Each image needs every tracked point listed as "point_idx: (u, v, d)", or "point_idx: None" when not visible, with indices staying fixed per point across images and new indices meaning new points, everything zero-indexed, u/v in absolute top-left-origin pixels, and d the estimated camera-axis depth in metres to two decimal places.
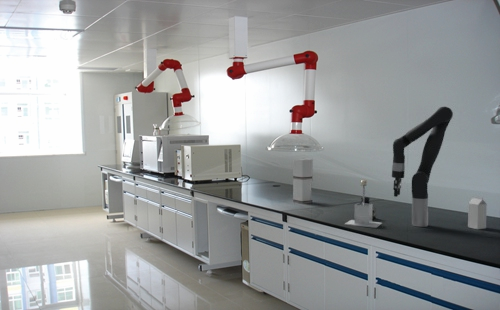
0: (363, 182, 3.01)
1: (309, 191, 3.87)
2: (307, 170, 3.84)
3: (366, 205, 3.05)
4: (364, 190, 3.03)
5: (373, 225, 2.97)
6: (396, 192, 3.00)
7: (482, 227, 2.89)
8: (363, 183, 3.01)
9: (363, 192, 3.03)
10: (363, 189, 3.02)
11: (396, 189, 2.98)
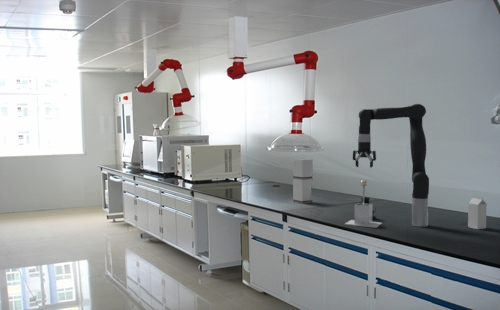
0: (363, 182, 3.01)
1: (309, 191, 3.87)
2: (307, 170, 3.84)
3: (366, 205, 3.05)
4: (364, 190, 3.03)
5: (373, 225, 2.97)
6: (372, 163, 3.00)
7: (482, 227, 2.89)
8: (363, 183, 3.01)
9: (363, 192, 3.03)
10: (363, 189, 3.02)
11: (375, 159, 2.99)
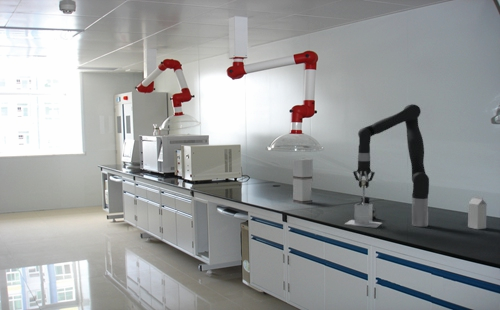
0: (363, 182, 3.01)
1: (309, 191, 3.87)
2: (307, 170, 3.84)
3: (366, 205, 3.05)
4: (364, 190, 3.03)
5: (373, 225, 2.97)
6: (368, 183, 3.02)
7: (482, 227, 2.89)
8: (363, 183, 3.01)
9: (363, 192, 3.03)
10: (363, 189, 3.02)
11: (371, 180, 3.01)
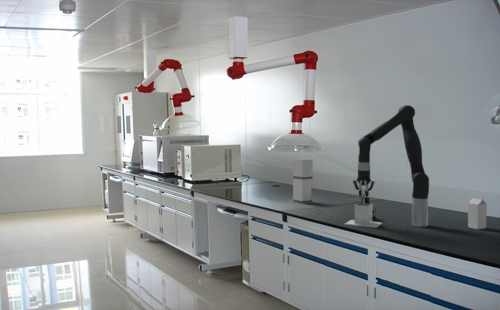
0: (363, 191, 3.02)
1: (309, 191, 3.87)
2: (307, 170, 3.84)
3: None
4: None
5: (373, 225, 2.97)
6: (368, 192, 3.02)
7: (482, 227, 2.89)
8: (363, 192, 3.02)
9: (363, 201, 3.03)
10: (363, 198, 3.03)
11: (371, 189, 3.01)
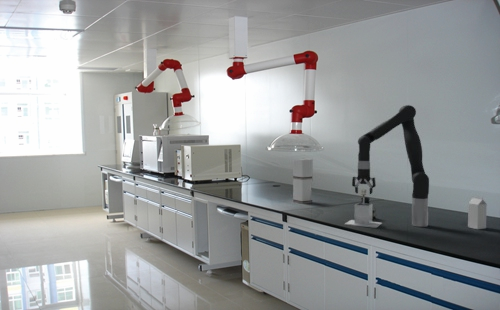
0: (363, 191, 3.02)
1: (309, 191, 3.87)
2: (307, 170, 3.84)
3: None
4: None
5: (373, 225, 2.97)
6: (372, 189, 3.01)
7: (482, 227, 2.89)
8: (363, 192, 3.02)
9: (363, 201, 3.03)
10: (363, 198, 3.03)
11: None
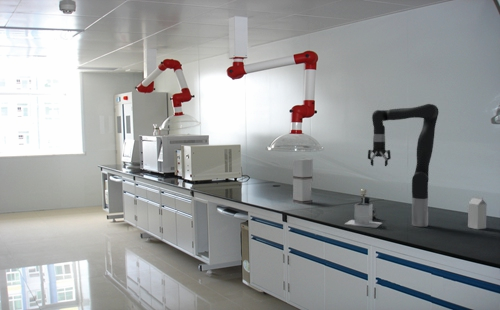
0: (363, 191, 3.02)
1: (309, 191, 3.87)
2: (307, 170, 3.84)
3: None
4: None
5: (373, 225, 2.97)
6: (387, 161, 3.12)
7: (482, 227, 2.89)
8: (363, 192, 3.02)
9: (363, 201, 3.03)
10: (363, 198, 3.03)
11: (390, 158, 3.11)
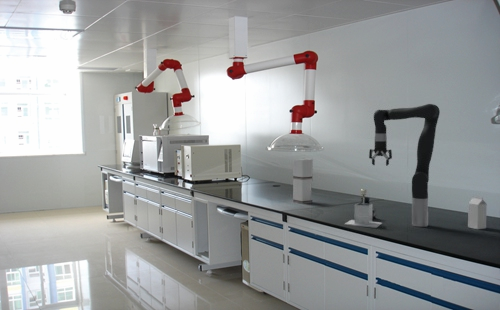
0: (363, 191, 3.02)
1: (309, 191, 3.87)
2: (307, 170, 3.84)
3: None
4: None
5: (373, 225, 2.97)
6: (388, 161, 3.13)
7: (482, 227, 2.89)
8: (363, 192, 3.02)
9: (363, 201, 3.03)
10: (363, 198, 3.03)
11: (391, 158, 3.12)
